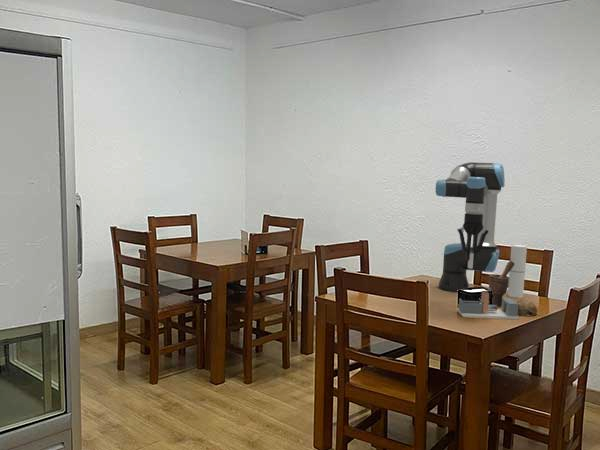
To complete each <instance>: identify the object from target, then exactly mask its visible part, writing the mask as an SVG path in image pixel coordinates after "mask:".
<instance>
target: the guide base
mask: <svg viewBox="0 0 600 450" xmlns="http://www.w3.org/2000/svg"><path fill="white" fill-rule="evenodd" d="M517 302H518V301H515V300H514V299H513V298H512V297H511V298H508V297H507V298H506V297H504V298H503V297H502V305H501V309H499V308H497V311H488V313H482V304H481V301H477V300H463V299H462V298H461V297H460V298H459V299H458V307H457V308H456V310H457V312H458V313H459V314H460V315H461V316H462V317H463V318H471V319H473V318H474V319H495V320H496V319H500V320H501V319H502V320H519V315H518V303H517Z"/></svg>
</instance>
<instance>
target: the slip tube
mask: <svg viewBox="0 0 600 450" xmlns="http://www.w3.org/2000/svg"><path fill="white" fill-rule="evenodd" d="M480 294H481V297H480V304H482V313H488V311H497V309H498V305H493V304H489V299H490V293H489V291H487V290H481V293H480Z"/></svg>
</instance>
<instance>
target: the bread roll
mask: <svg viewBox="0 0 600 450" xmlns="http://www.w3.org/2000/svg"><path fill="white" fill-rule="evenodd" d="M516 302H517V303H518V316H522V317H523V316H524V317H534V316H533V315H535V316H536V315H537V313H538V309H537V306H536V305H535V303H533V301H531V300H528V299H520V300H518V301H516Z"/></svg>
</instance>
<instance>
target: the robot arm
mask: <svg viewBox="0 0 600 450" xmlns="http://www.w3.org/2000/svg"><path fill="white" fill-rule="evenodd" d="M505 178H506V177H505V169H504V165H503V164H501V163H498V162H497V163H496V162H473V161H471V162H470V161H469V162H466V163H462V164H460V165H457V166H456V167H453V169H452V170H451V171H450V175H449V176H448V177H447V178H446V179H444V178H443V179H437V181H436V183H435V195H436V196H437V197H443V198H446V197H447V198H461V199H463V198H465V206H464V212H465V213H464V217H463V218H464V219H463V221H464V222H463V224H462V227H460V228H457V229H456V231H457V232H458V234H459V239H460V240H459V241H460V243H459V242H458V243H449V244H447V245H445V246H444V250H443V251H444V252H443V262H442V263H443V265H442V274H441V276H440V279H439V281H438V285H437V287H438V288H439V289H440V290H443V291H447V292H455V293H457V290H458V289H463V288H468V287H469V288H470V284H469V280H468V277H467V271H473V272H474V271H476V272H484V273H493V272H495V271H496V269H497V265H498V262H499V258H500V257H499V256H500V249H498V245H497V244H496V243H495V233H496V232H495V230H496V219H497V204H498V203H497V202H498V194H500V192H501V191H502V188H504V187H505V183H506V181H505V180H506V179H505ZM464 232H465V233H466V242H465V236H464ZM471 246H472V247H471Z"/></svg>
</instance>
